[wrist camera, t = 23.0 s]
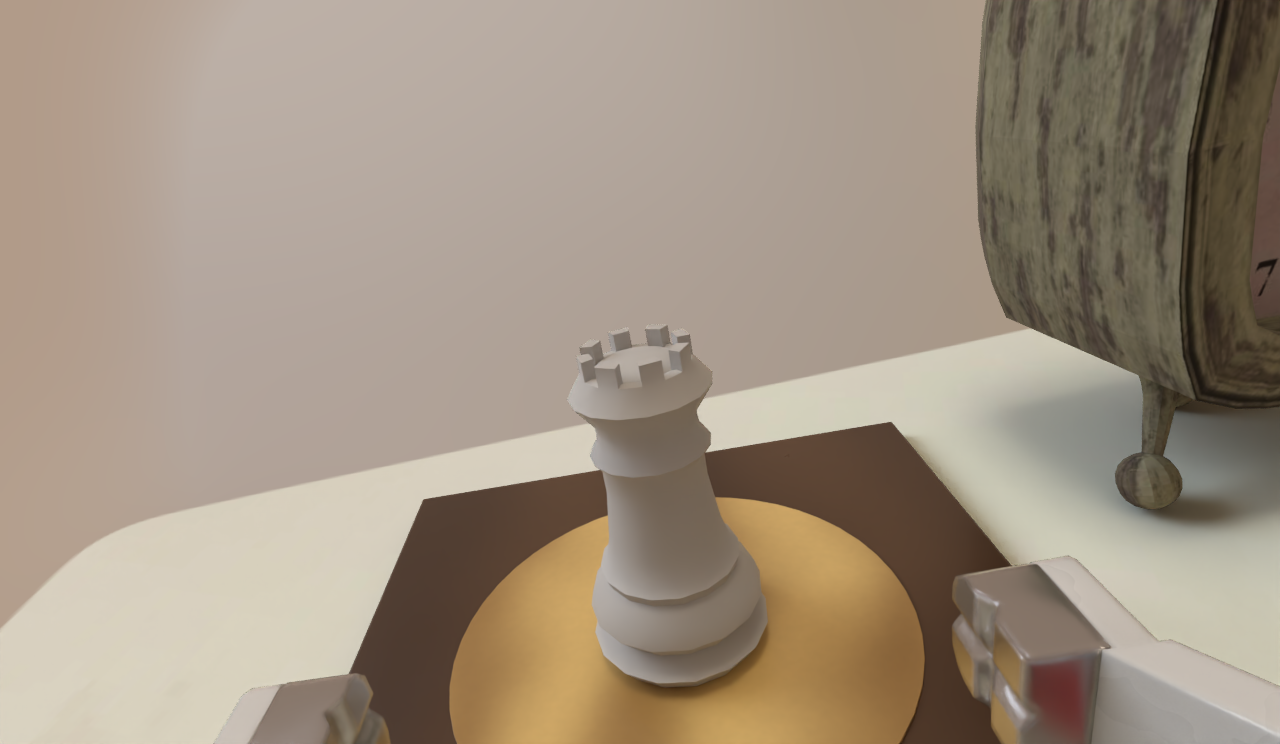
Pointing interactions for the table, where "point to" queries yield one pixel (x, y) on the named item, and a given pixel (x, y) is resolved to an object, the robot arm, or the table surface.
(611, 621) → the rook chess piece
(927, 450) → the table surface
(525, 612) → the brown flat square panel
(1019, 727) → the robot arm
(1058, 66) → the tabletop clock
